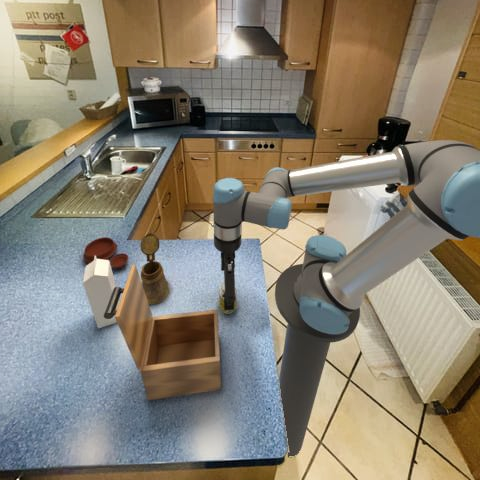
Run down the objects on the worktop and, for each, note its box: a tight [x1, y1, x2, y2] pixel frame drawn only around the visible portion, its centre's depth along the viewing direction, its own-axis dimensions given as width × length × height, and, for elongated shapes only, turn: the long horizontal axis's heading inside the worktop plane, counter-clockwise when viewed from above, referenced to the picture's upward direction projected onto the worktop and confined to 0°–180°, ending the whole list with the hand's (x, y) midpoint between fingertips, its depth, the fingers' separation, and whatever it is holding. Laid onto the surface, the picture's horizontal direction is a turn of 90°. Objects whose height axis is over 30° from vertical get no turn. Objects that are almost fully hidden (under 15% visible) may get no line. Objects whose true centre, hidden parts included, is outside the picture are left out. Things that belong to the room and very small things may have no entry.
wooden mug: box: [139, 232, 171, 305], centre depth 82 cm, size 9×14×18 cm, turn 17°
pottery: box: [82, 237, 129, 270], centre depth 95 cm, size 12×20×4 cm, turn 61°
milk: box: [82, 255, 121, 329], centre depth 72 cm, size 6×6×22 cm
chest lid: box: [104, 264, 153, 371], centre depth 55 cm, size 18×12×5 cm
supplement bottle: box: [218, 280, 238, 315], centre depth 78 cm, size 5×5×10 cm
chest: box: [139, 309, 222, 401], centre depth 62 cm, size 17×12×12 cm
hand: (227, 287), depth 76 cm, fingers open, 13 cm apart
